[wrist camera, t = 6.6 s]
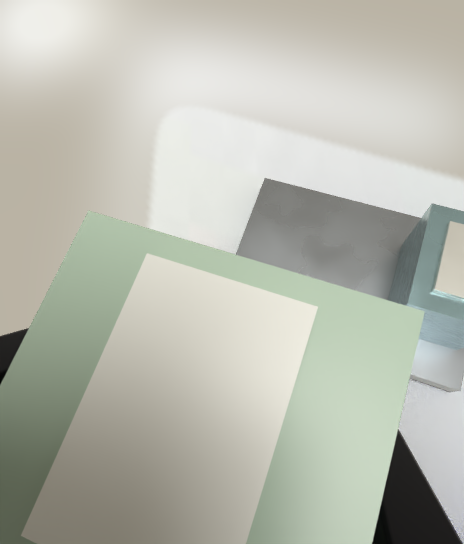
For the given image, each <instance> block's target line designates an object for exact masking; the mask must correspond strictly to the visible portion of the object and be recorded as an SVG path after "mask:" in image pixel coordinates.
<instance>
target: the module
mask: <svg viewBox="0 0 464 544" xmlns="http://www.w3.org/2000/svg"><path fill="white" fill-rule="evenodd" d="M424 313H425V311H422V310H418V309H415V308H412V307H408V306H405V305H402V304H398V303H395V302H392V301H388V300H385V299H382V298H378V297H375V296H372V295H368V294H365V293H362V292H358V291H355V290H352V289H348V288H345V287H342V286H338V285H335V284H332V283H328V282H325V281H322V280H318V279H315V278H312V277H308V276H305V275H302V274H298V273H295V272H292V271H288V270H285V269H282V268H278V267H275V266H272V265H268V264H265V263H262V262H258V261H255V260H252V259H248V258H245V257H242V256H238V255H235V254H232V253H228V252H225V251H222V250H218V249H215V248H212V247H208V246H205V245H202V244H198V243H195V242H192V241H188V240H185V239H182V238H178V237H175V236H172V235H168V234H165V233H162V232H158V231H155V230H152V229H148V228H145V227H142V226H138V225H135V224H132V223H128V222H125V221H122V220H118V219H115V218H112V217H108V216H105V215H101V214H98V213H95V212H92V211H88V213H87V215H86V217H85V219H84V221H83V223H82V225H81V227H80V229H79V231H78V233H77V235H76V237H75V239H74V241H73V243H72V244H71V247H70V248H69V251H68V252H67V254H66V256H65V258H64V260H63V262H62V264H61V266H60V268H59V270H58V272H57V274H56V276H55V278H54V280H53V282H52V284H51V286H50V288H49V290H48V292H47V294H46V296H45V298H44V300H43V302H42V304H41V306H40V308H39V310H38V312H37V314H36V316H35V318H34V319H33V322H32V323H31V325H30V327H29V329H28V331H27V333H26V335H25V337H24V339H23V341H22V343H21V345H20V347H19V349H18V351H17V353H16V355H15V357H14V359H13V361H12V363H11V365H10V367H9V369H8V371H7V373H6V375H5V377H4V379H3V381H2V383H1V385H0V544H372V542H373V537H374V533H375V528H376V524H377V520H378V515H379V511H380V506H381V502H382V498H383V493H384V489H385V484H386V480H387V476H388V471H389V467H390V462H391V458H392V454H393V449H394V445H395V440H396V436H397V432H398V427H399V423H400V418H401V414H402V410H403V405H404V401H405V396H406V392H407V387H408V383H409V379H410V374H411V370H412V365H413V361H414V357H415V352H416V348H417V343H418V339H419V335H420V330H421V326H422V321H423V317H424Z"/></svg>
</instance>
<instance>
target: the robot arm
mask: <svg viewBox="0 0 464 544" xmlns="http://www.w3.org/2000/svg"><path fill="white" fill-rule="evenodd" d="M28 329H29V328H28ZM28 329H24V330H20V331H17V332H13V333H10V334H6V335H2V336H0V385H1V383H2V381H3V379H4V377H5V375H6V373H7V371H8V369H9V367H10V365H11V363H12V361H13V359H14V357H15V355H16V353H17V351H18V349H19V347H20V345H21V343H22V341H23V339H24V337H25V335H26V333H27V331H28ZM372 544H463V543H462V541H461V540H460V538H459V536H458V534H457V532H456V531H455V529H454V527H453V525H452V524H451V522H450V520H449V518H448V516H447V515H446V513H445V511H444V509H443V508H442V506H441V504H440V502H439V500H438V499H437V497H436V495H435V493H434V492H433V490H432V488H431V486H430V484H429V483H428V481H427V479H426V477H425V475H424V474H423V472H422V470H421V468H420V467H419V465H418V463H417V461H416V459H415V458H414V456H413V454H412V452H411V451H410V449H409V447H408V445H407V443H406V442H405V440H404V438H403V436H402V435H401V433H400V431H399V429H398V432H397V436H396V440H395V445H394V449H393V454H392V458H391V462H390V467H389V471H388V476H387V480H386V484H385V489H384V493H383V498H382V502H381V506H380V511H379V515H378V520H377V524H376V528H375V533H374V537H373V542H372Z"/></svg>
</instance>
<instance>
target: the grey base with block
mask: <svg viewBox="0 0 464 544" xmlns="http://www.w3.org/2000/svg"><path fill="white" fill-rule="evenodd" d="M236 255H238V256H242V257H245V258H248V259H252V260H255V261H258V262H262V263H265V264H268V265H272V266H275V267H278V268H282V269H285V270H288V271H292V272H295V273H298V274H302V275H305V276H308V277H312V278H315V279H318V280H322V281H325V282H328V283H332V284H335V285H338V286H342V287H345V288H348V289H352V290H355V291H358V292H362V293H365V294H368V295H372V296H375V297H378V298H382V299H385V300H388V301H392V302H395V303H398V304H402V305H405V306H408V307H412V308H415V309H418V310H422V311H425V313H424V317H423V321H422V326H421V330H420V335H419V339H418V343H417V348H416V352H415V357H414V361H413V365H412V370H411V374H410V379H413V380H416V381H419V382H422V383H425V384H428V385H431V386H434V387H437V388H440V389H442V390H445V391H448V392H455V391H461V386H462V381H463V376H464V211H460V210H456V209H452V208H448V207H444V206H440V205H436V204H431V206H430V207H429V208H428V210H427V211H426V213H425V214H424V215H423V217H422V218H418V217H415V216H411V215H407V214H403V213H399V212H395V211H391V210H387V209H383V208H380V207H376V206H372V205H368V204H364V203H360V202H356V201H352V200H349V199H345V198H341V197H337V196H333V195H329V194H325V193H321V192H317V191H314V190H310V189H306V188H302V187H298V186H294V185H290V184H286V183H282V182H279V181H275V180H271V179H267V178H265V179H264V182H263V184H262V187H261V190H260V192H259V195H258V198H257V200H256V203H255V206H254V208H253V211H252V213H251V216H250V219H249V221H248V224H247V227H246V229H245V232H244V235H243V237H242V240H241V242H240V245H239V248H238V250H237V253H236Z"/></svg>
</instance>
